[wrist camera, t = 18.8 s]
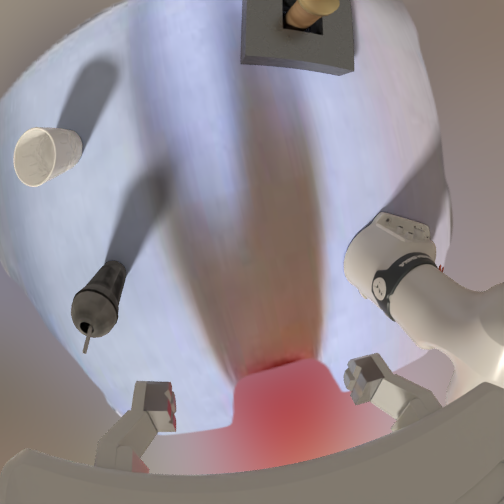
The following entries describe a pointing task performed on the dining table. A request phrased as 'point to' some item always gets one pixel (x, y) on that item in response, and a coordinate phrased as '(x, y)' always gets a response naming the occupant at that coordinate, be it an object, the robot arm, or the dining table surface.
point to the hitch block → (297, 38)
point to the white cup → (46, 154)
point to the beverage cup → (99, 302)
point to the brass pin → (308, 13)
